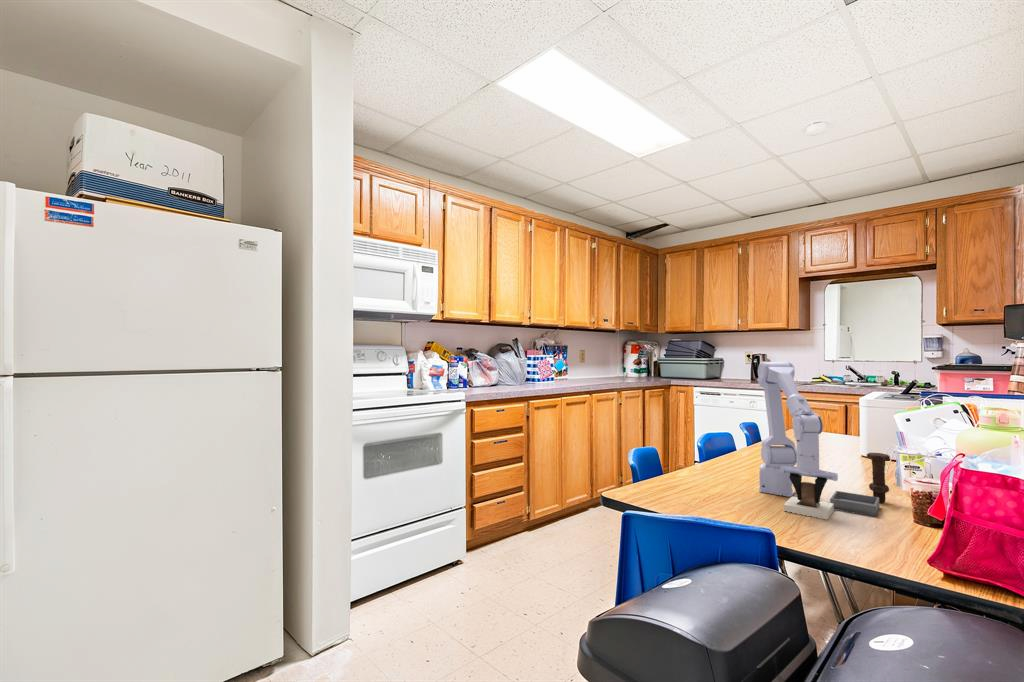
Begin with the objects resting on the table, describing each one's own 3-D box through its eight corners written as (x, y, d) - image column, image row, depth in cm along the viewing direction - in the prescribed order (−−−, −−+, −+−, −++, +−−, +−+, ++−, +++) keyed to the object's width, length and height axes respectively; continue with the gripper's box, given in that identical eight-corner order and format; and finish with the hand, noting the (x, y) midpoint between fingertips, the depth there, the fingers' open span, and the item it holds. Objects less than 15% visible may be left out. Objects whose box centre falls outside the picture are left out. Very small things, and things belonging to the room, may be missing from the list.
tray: (830, 508, 145) (830, 498, 145) (836, 500, 153) (835, 490, 153) (875, 516, 138) (875, 506, 138) (879, 507, 146) (879, 497, 146)
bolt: (893, 505, 148) (892, 456, 148) (875, 504, 149) (874, 455, 149) (883, 499, 153) (882, 452, 154) (865, 498, 154) (864, 452, 155)
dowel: (799, 511, 143) (799, 483, 143) (802, 507, 146) (802, 481, 146) (815, 514, 140) (814, 486, 140) (817, 510, 143) (817, 483, 143)
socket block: (783, 511, 143) (783, 504, 143) (792, 502, 151) (791, 496, 151) (827, 519, 135) (827, 512, 135) (833, 510, 144) (833, 503, 144)
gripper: (777, 453, 145) (778, 499, 145) (834, 460, 136) (835, 509, 135) (783, 450, 151) (783, 493, 150) (838, 456, 141) (839, 503, 141)
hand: (808, 500), depth 143 cm, fingers closed on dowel, 4 cm apart
